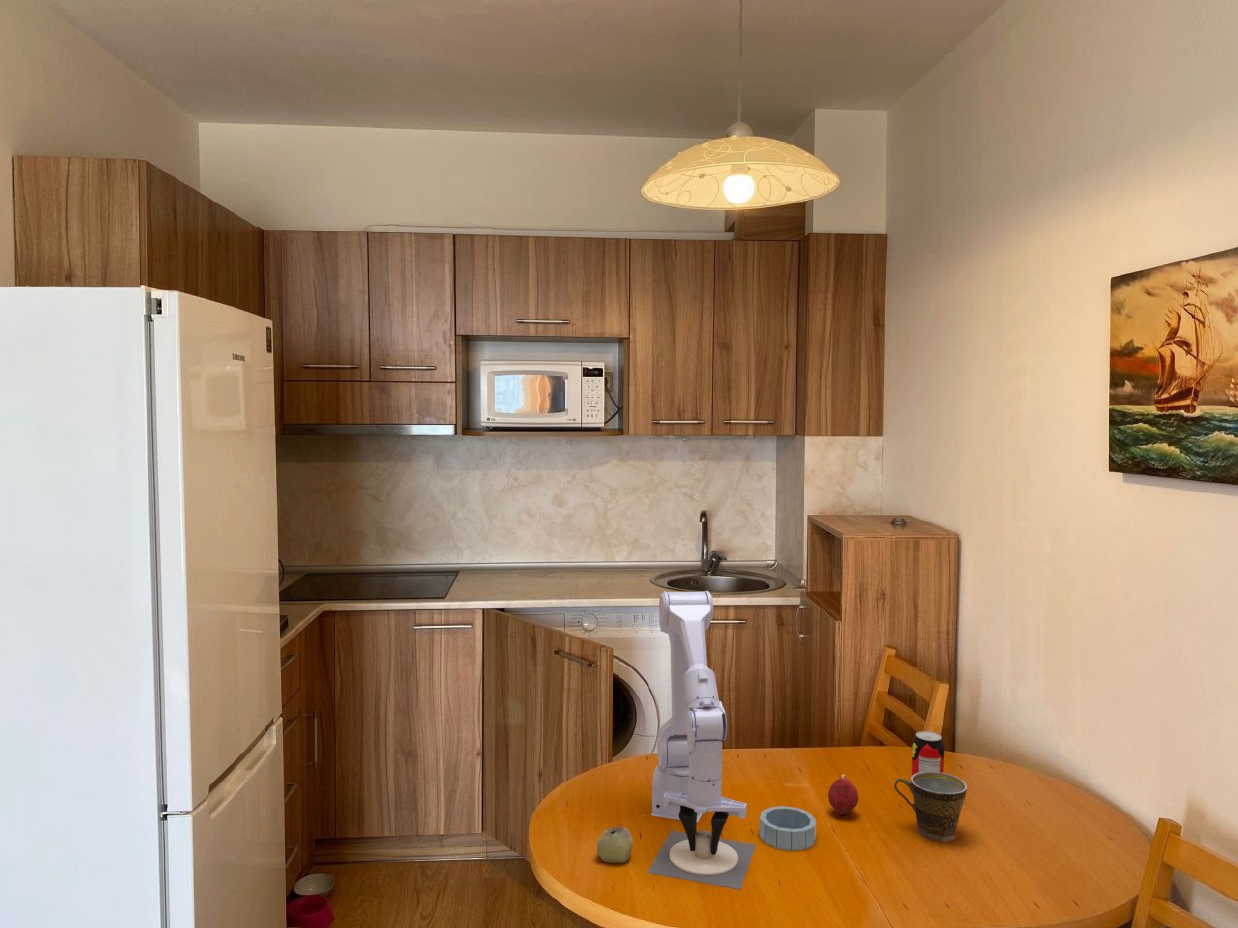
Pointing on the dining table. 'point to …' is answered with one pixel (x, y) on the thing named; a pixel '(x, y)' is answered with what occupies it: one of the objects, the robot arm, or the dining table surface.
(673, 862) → the lid
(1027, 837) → the dining table surface
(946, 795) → the ceramic cup
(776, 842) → the bowl
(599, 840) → the apple
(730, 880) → the mat
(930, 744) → the beverage can
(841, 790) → the onion
